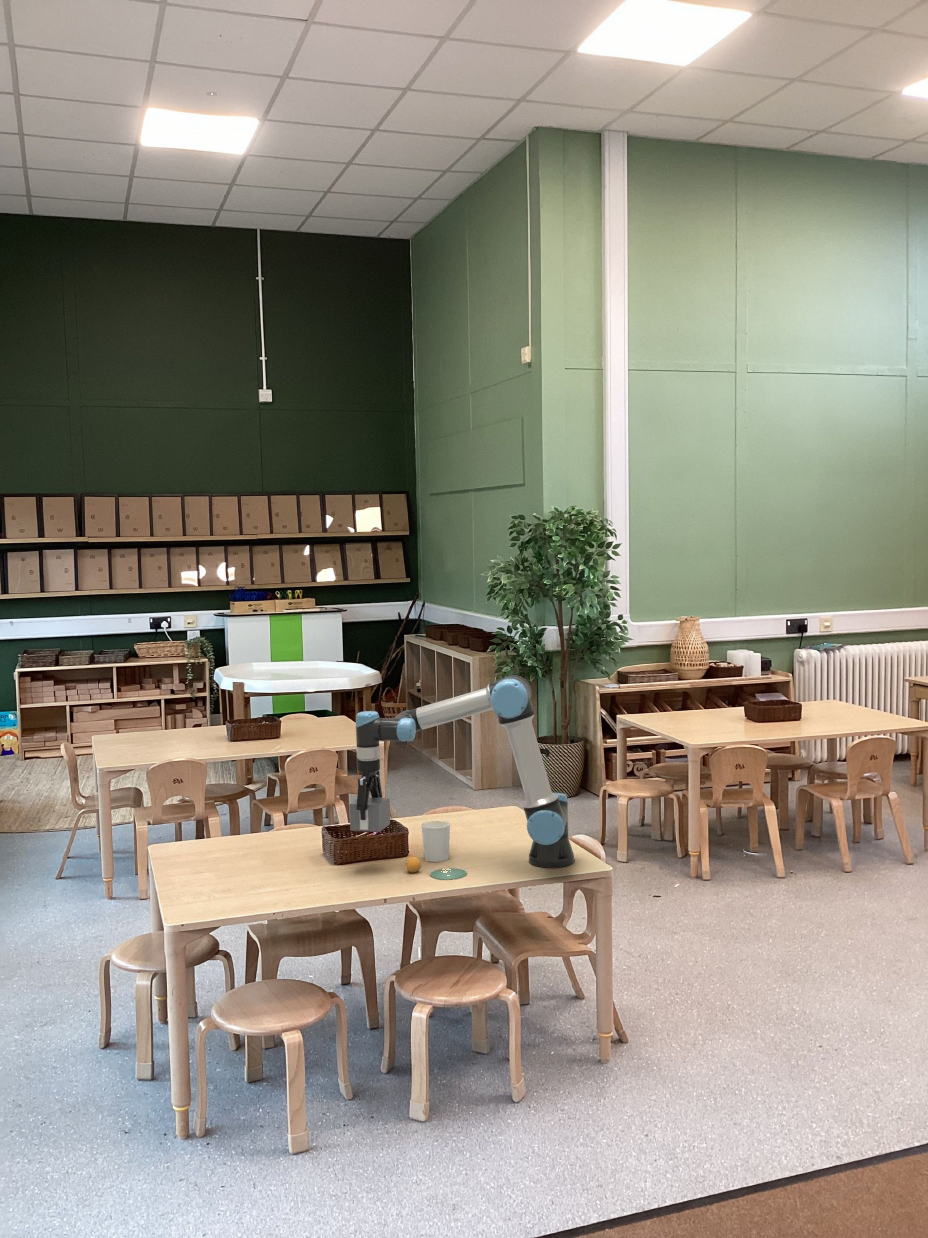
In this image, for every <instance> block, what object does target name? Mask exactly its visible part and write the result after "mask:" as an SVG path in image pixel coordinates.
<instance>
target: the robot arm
mask: <svg viewBox="0 0 928 1238" xmlns="http://www.w3.org/2000/svg"><path fill="white" fill-rule="evenodd" d="M532 692H533V691H532V687H531V685H530V683H529V682H528V681H527V679H525V678H524V677H522V676H520V675H517V674H515V675H514V674H513V675H508V676H505V677H503V678H502V679H499V680H497V681H494V682H491V683H488V684H487V686H486V687H485V688H484V687H483V688H481V689H478V690H475V691H471V692H467V693H463V694H461V695H458V696H453V697H451V698H447V699H444V700H440V701H436V702H433V703H430V704H426V705H423V706H419V707H417V708H414V709H410V710H409V709H408V710H404V711H401V712H400V713H398V714H397V715H396V716H394V717H387V718H386V717H380V715H379V713H378V711H373V710H369V711H368V710H367V711H365V710H364V711H360V712H358V713H357V714H356V716H355V738H356V739H355V740H356V748H355V751H356V758H357V760H356V770H357V772H361V778H358V779H357V795H356V800H357V807H356V809H357V810H360V829H361V830H368V829H369V823H368V810H367V805H368V798H369V797H378V798H383V790H382V784H381V778H380V776H381V774H380V770H381V759H380V757H381V750H380V742H403V743H405V742H412V741H414V740H415V738H416V733H417V732H420V731H423V730H426V729H430V728H433V727H437V726H439V725H444V724H447V723H450V722H453V721H457V720H461V719H465V718H468V717H472V716H475V715H479V714H482V713H485V712H489V711H494V712H495V713H496V716H497V719H498V723H499V726H501V727H503V728H505V731H506V734H507V737H508V741H509V744H510V748H511V751H512V755H513V759H514V761H515V766H516V768H517V773H518V775H519V780H520V783H521V786H522V790H523V793H524V797H525V801H524V802H523V805H522V806H523V811H524V814H525V817H526V821H527V822H526V829H527V833H528V835H529V837H530V838H531V840H532V843H531V847H530V850H529V853H528V862H529V864H531V865H532V866H535V867H541V868H547V869H551V868H552V869H553V868H563V867H567V866H571V865H572V864H574V862H575V854H574V850H573V847H572V844H571V842H570V839H569V808H568V807H569V801H568V800H569V799H568V796H567V794H566V793H563V792H553V791H552V788H551V784H550V781H549V777H548V774H547V770H546V767H545V764H544V760H543V756H542V753H541V750H540V747H539V743H538V739H537V736H536V733H535V729H534V726H533V719H534V717H535V712H534V708H533V703H532V701H531V699H532Z"/></svg>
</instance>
